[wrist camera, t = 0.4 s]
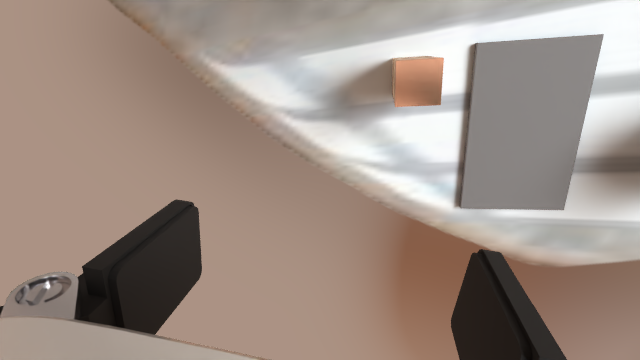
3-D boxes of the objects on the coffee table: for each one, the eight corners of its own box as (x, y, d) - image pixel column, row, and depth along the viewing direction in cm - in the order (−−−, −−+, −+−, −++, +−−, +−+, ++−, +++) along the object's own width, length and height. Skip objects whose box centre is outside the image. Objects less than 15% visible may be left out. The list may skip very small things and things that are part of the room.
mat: (475, 43, 36) (477, 43, 35) (598, 34, 34) (603, 34, 33) (459, 205, 43) (461, 208, 43) (560, 207, 41) (563, 209, 40)
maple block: (392, 58, 38) (396, 60, 29) (428, 55, 37) (443, 57, 28) (391, 93, 40) (395, 106, 31) (426, 91, 39) (440, 105, 30)
